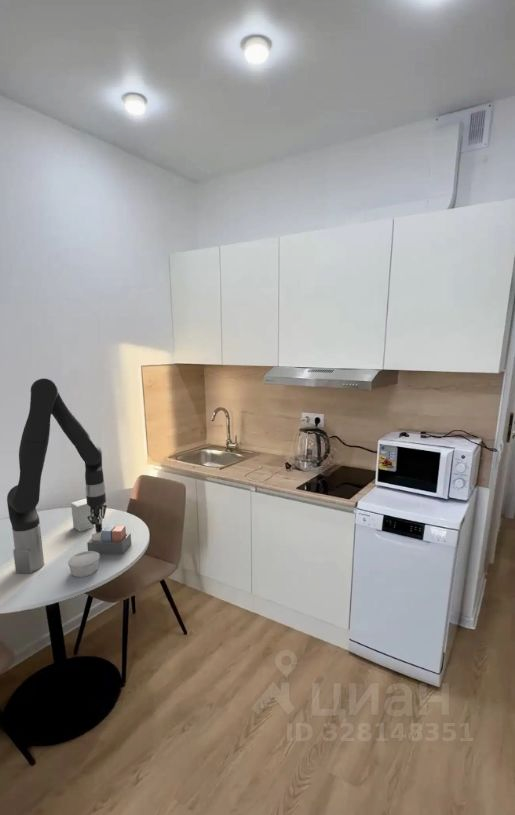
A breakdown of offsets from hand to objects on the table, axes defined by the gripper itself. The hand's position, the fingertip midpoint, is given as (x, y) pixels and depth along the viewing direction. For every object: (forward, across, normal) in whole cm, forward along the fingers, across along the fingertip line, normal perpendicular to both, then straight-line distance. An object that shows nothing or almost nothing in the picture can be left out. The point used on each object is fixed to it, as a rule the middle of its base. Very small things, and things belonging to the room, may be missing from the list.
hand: (99, 531), depth 166 cm
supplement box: (+8, +19, +17) cm, 27 cm away
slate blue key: (+4, 0, -4) cm, 6 cm away
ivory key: (+5, 0, 0) cm, 5 cm away
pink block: (+4, 0, -9) cm, 10 cm away
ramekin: (+8, -16, -2) cm, 19 cm away
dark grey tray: (+8, 0, -4) cm, 9 cm away
